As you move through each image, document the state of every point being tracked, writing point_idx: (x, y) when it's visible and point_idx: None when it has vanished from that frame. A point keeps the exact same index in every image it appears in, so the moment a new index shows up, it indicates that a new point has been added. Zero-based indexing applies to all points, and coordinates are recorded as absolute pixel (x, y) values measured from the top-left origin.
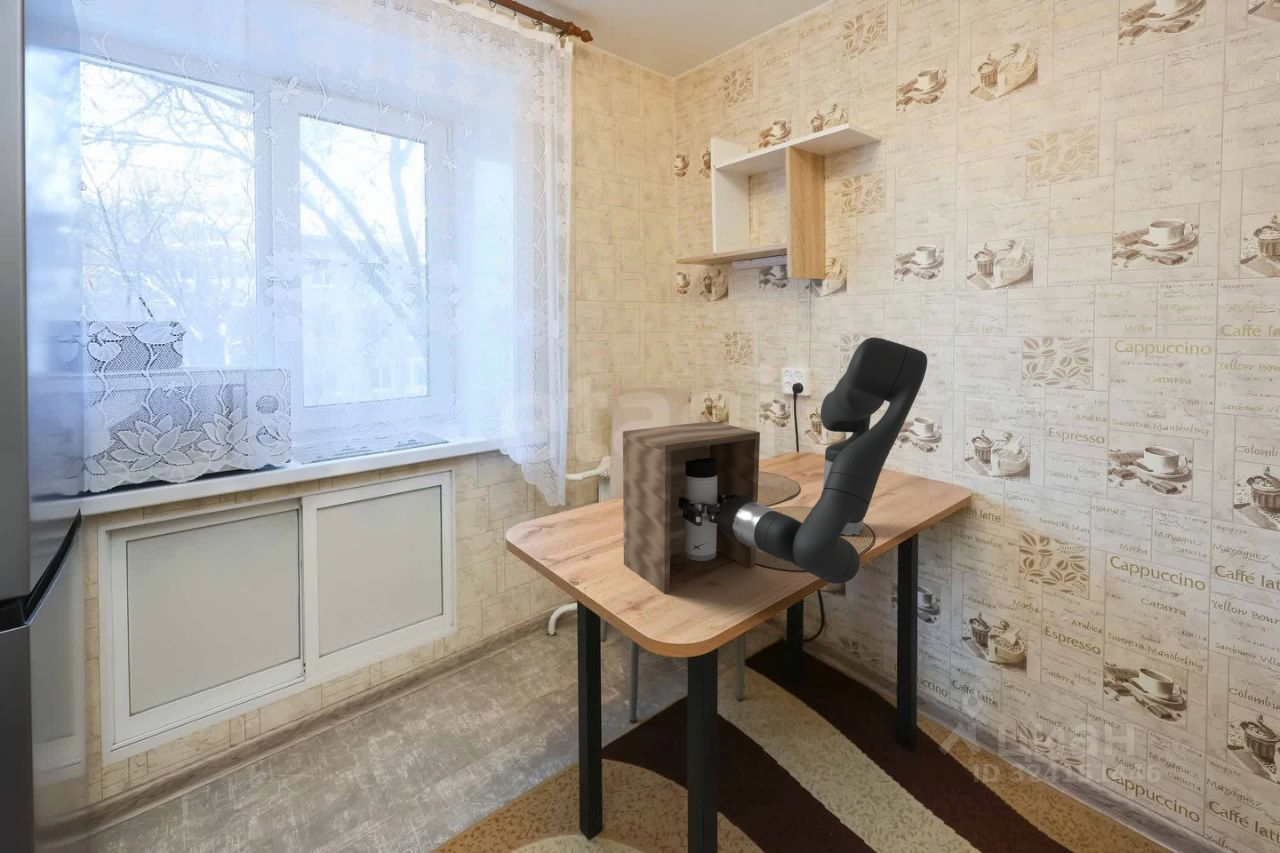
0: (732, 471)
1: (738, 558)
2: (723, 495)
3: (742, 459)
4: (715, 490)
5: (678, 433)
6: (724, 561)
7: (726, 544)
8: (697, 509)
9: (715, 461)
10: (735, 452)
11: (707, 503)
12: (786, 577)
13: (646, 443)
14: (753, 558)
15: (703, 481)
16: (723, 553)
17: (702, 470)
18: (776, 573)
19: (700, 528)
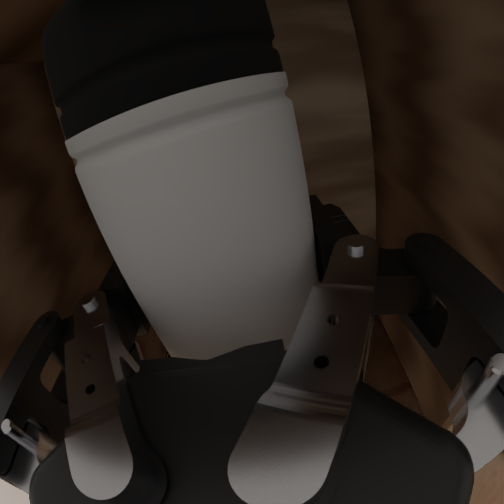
0: (435, 97)
1: (417, 390)
2: (353, 245)
3: (472, 25)
4: (249, 220)
5: None
6: (380, 387)
7: (402, 337)
8: (7, 409)
9: None
10: (430, 4)
11: (69, 385)
12: (495, 491)
13: None
14: (449, 422)
15: (93, 159)
16: (394, 346)
17: (60, 73)
18: (482, 469)
19: None
